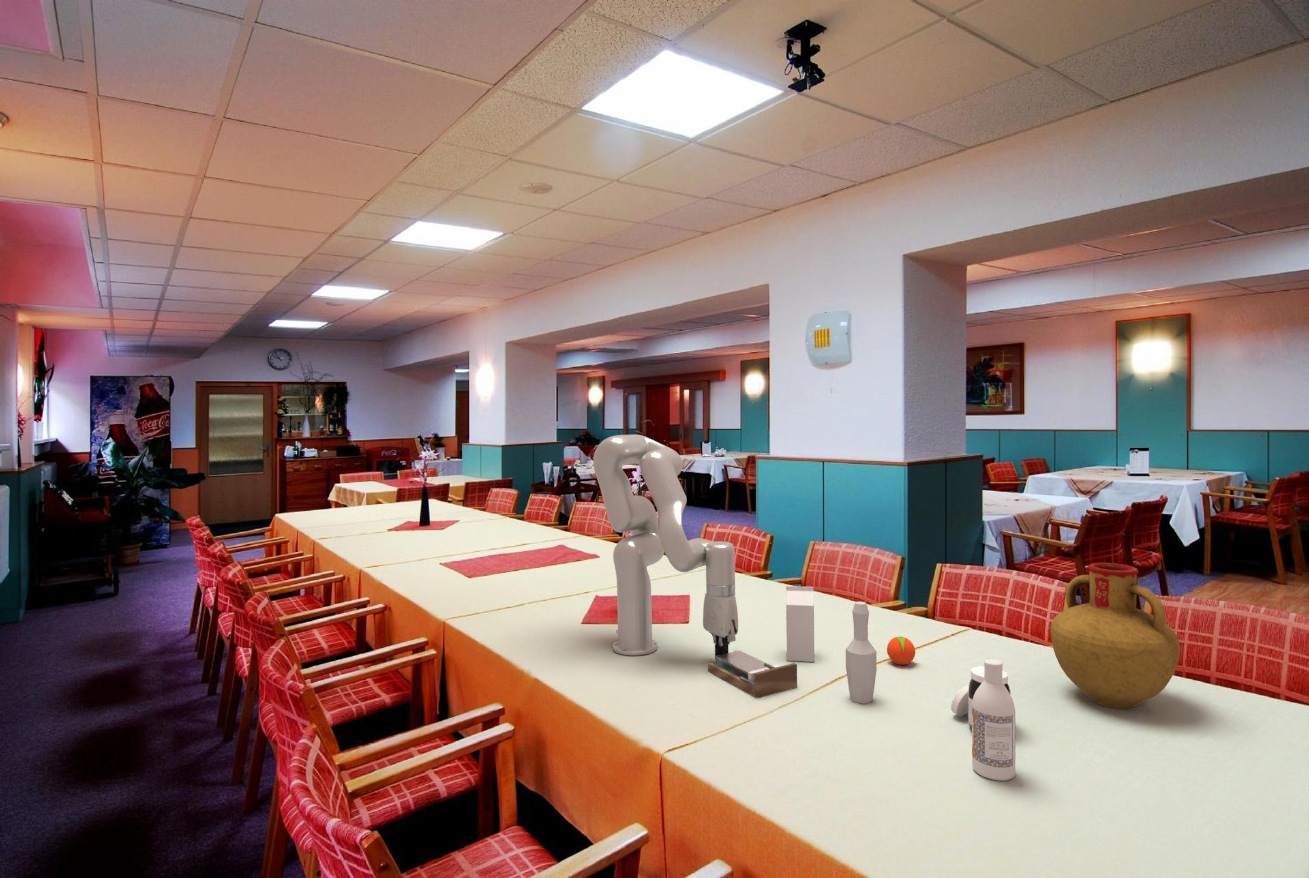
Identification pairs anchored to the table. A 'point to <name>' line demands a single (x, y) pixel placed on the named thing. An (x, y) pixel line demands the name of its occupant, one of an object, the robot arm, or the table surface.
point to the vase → (1114, 639)
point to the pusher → (751, 673)
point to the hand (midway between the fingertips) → (721, 659)
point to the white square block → (747, 667)
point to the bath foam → (993, 726)
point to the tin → (732, 660)
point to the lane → (761, 679)
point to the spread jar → (972, 692)
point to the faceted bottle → (861, 658)
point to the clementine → (901, 650)
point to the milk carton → (800, 623)
